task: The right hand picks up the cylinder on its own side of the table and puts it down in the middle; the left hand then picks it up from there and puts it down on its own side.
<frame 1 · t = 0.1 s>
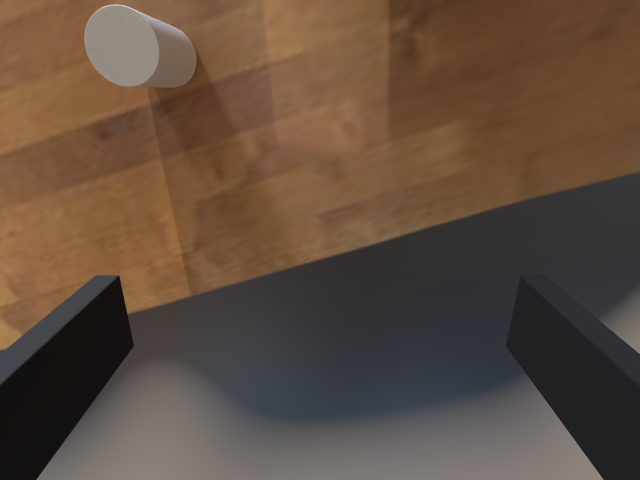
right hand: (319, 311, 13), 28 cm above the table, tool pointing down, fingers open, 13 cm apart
cylinder: (168, 57, 35), on the table
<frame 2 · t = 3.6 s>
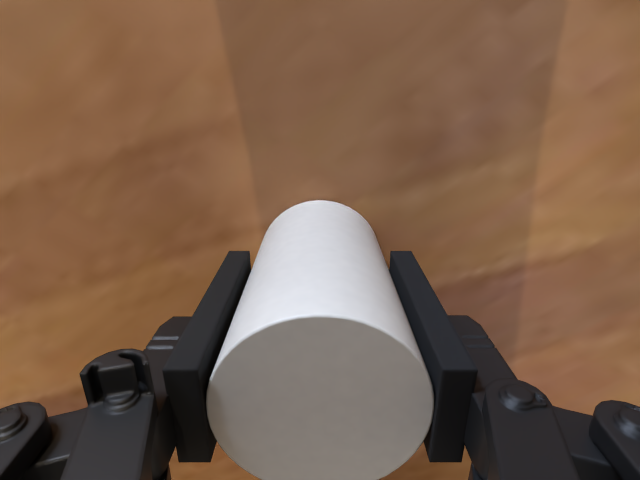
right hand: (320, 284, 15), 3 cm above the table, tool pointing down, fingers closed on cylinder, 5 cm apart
cylinder: (320, 257, 17), on the table, touching right hand
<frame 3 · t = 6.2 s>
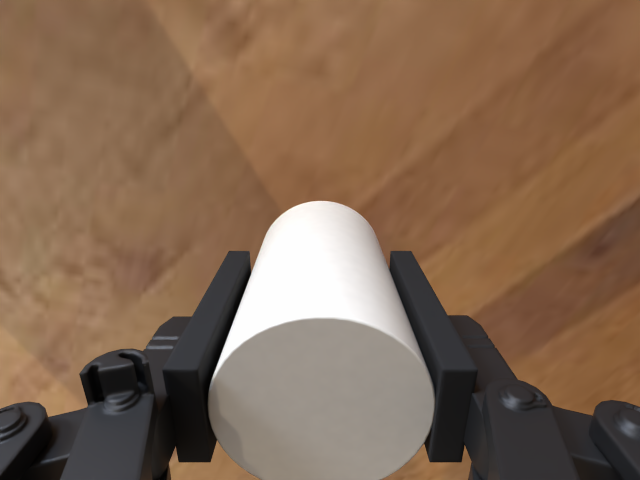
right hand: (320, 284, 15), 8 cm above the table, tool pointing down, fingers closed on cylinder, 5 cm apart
cylinder: (320, 257, 17), point 5 cm above the table, touching right hand
when the right hand's fingers open (4 cm above the table, at t = 8.5 s): cylinder drops 1 cm, on the table.
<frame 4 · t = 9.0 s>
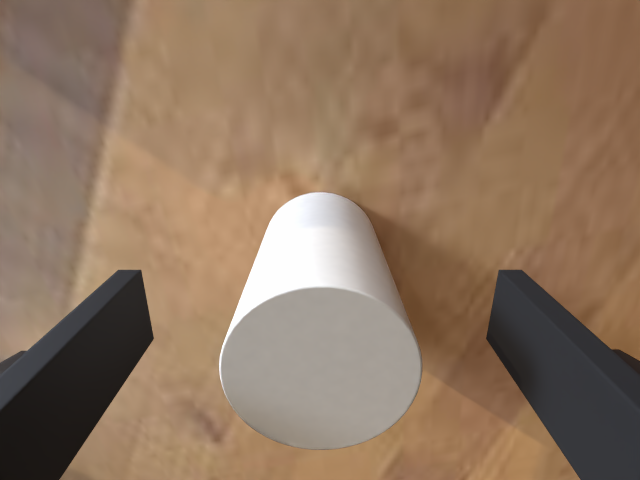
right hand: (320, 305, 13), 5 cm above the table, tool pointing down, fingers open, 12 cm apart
cylinder: (320, 246, 18), on the table
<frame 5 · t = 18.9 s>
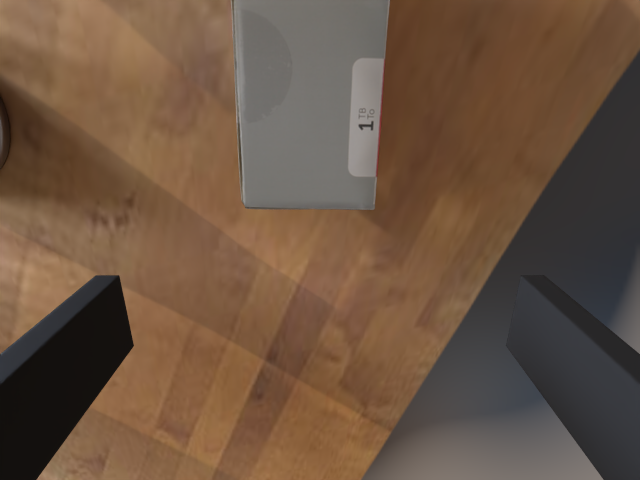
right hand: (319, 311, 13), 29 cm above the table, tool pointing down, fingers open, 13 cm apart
hard drive box: (313, 76, 37), on the table
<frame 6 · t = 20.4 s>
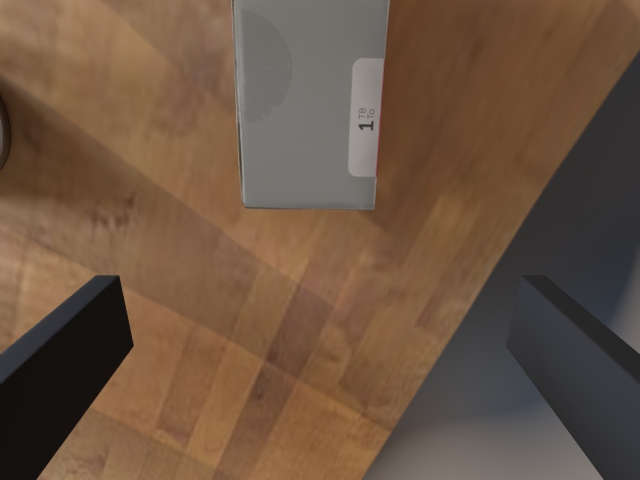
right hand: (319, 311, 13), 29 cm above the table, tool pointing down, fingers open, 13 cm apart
hard drive box: (313, 76, 37), on the table
when the left hand's fingers open (4 cm above the table, at t = 22.0 s): cylinder drops 1 cm, on the table.
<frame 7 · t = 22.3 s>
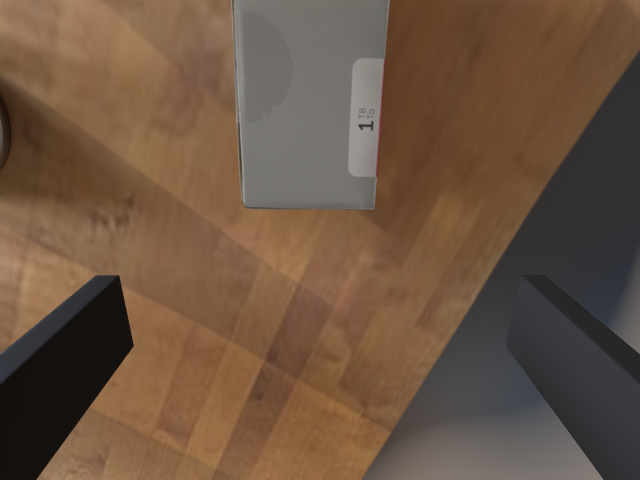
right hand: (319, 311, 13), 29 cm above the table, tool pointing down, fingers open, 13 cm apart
hard drive box: (313, 76, 37), on the table
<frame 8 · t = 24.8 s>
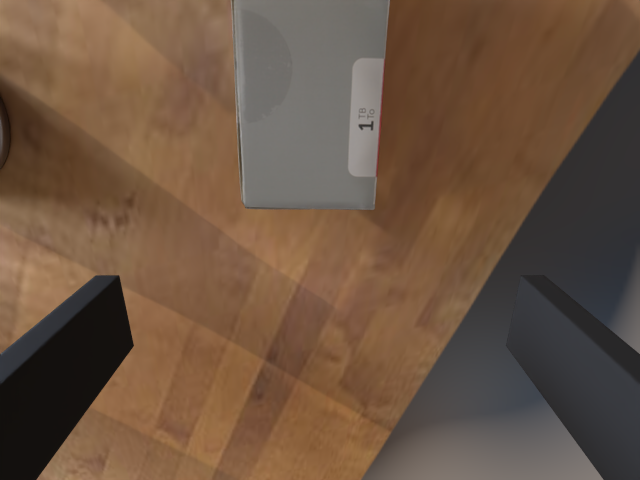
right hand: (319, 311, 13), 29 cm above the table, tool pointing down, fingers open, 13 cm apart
hard drive box: (313, 76, 37), on the table
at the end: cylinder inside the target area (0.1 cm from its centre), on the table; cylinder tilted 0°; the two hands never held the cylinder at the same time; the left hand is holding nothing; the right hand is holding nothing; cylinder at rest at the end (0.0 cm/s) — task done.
